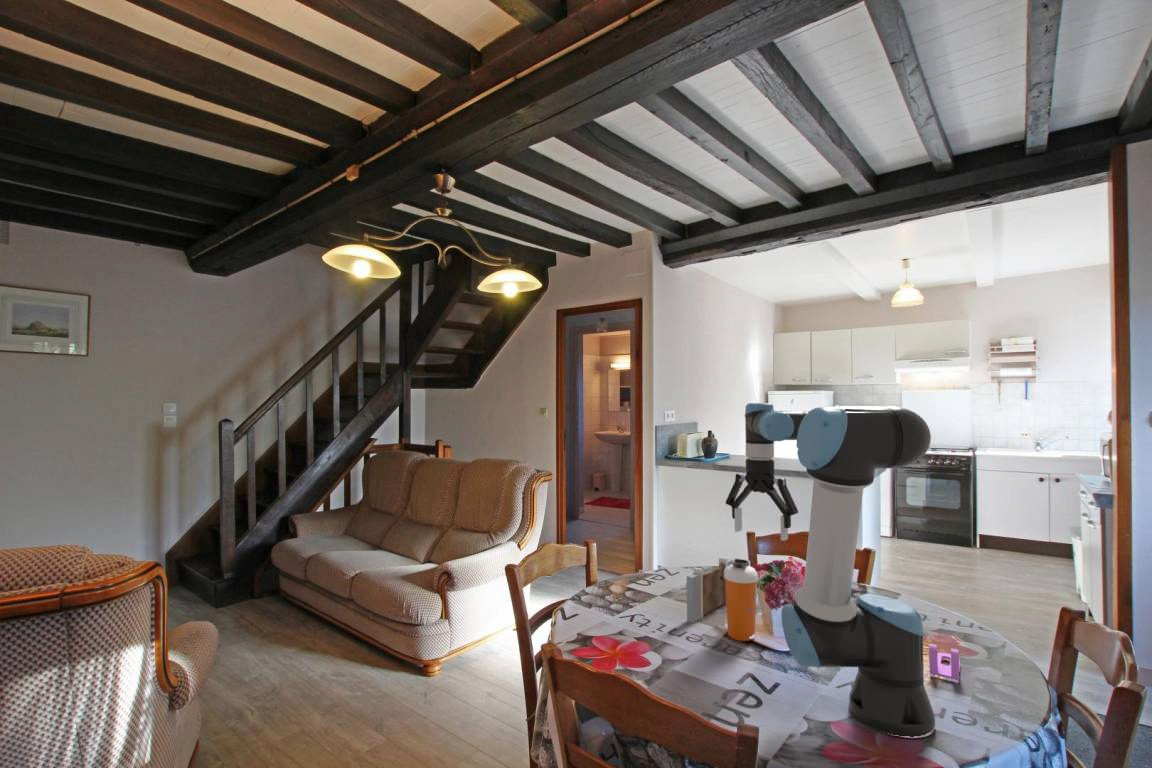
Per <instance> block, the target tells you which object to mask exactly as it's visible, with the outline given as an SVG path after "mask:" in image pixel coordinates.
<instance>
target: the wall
mask: <svg viewBox="0 0 1152 768" xmlns="http://www.w3.org/2000/svg"><path fill="white" fill-rule="evenodd" d="M733 563H734V559H731V558H726V557H723V556H719V557H718V566H723V567H724V570H725V568H726V567H727V566H729V565H732V564H733ZM703 571H704V570H703V568H698V567H693V573H690V574H688V575H686V621H687V622H688V623H691V624H694V623H696V622H697V621H699V620H703V619H704V615H703V573H704V572H703ZM723 605H725V606H726V589H725V579H724V604H723Z"/></svg>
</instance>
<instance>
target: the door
mask: <svg viewBox="0 0 1152 768" xmlns="http://www.w3.org/2000/svg"><path fill="white" fill-rule="evenodd" d="M724 579H725V578H724V567H723V566H719V565H718V566H716V567H714V568H711V569H709V570H706V571H704V572H703V616H704V615H706V614H708V613H709V612H711V611H714V610H715V609H717V608H718V607H720V606H722V605H724Z"/></svg>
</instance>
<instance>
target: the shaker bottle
mask: <svg viewBox="0 0 1152 768" xmlns="http://www.w3.org/2000/svg"><path fill="white" fill-rule="evenodd" d="M758 577H759V575H758V572H757V571H756V569H755V568H754V567H752V566H751V560H749V559H741V558H740V559H739V558H734V559H733V564H732V565H729V566H727V567H726V568H725V570H724V578H725V589H726V605H725V606H726V621H727V622H726V623H727V624H726V625H727V635H728V637H730V638H731V639H733V640H736V641H740V642H741V641H742V642H749V641H751V640H749V637H750V636H752V635H753V634H755V635H756V615H757V613H756V612H757V611H756V610H757V585H758V583H757V582H758V580H759V579H758Z"/></svg>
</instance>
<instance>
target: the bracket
mask: <svg viewBox="0 0 1152 768" xmlns="http://www.w3.org/2000/svg"><path fill="white" fill-rule="evenodd" d="M928 651H929V652H928V653H929V654H928V655H929V656H928V657H929V659H928V660H929V675H930V674H933V675H938V676H942V677H946V678H951V679H955V680H959V681H960V676H959V672H961V660H960V650H959V649H955V648H951V649H950V653H946V652H938V645H937V644H933V643H929V650H928ZM942 658H948V659H950V660H951V661H950V662H949V665H945V664H943V663H941V660H942Z"/></svg>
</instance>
